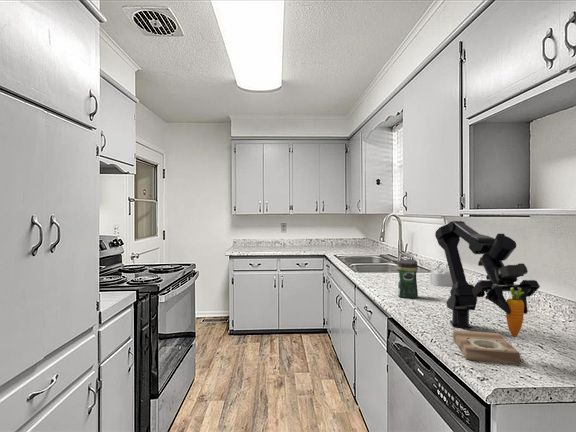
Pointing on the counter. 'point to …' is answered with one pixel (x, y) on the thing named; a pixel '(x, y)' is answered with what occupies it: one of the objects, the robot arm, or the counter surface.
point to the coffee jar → (407, 279)
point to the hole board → (485, 347)
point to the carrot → (515, 312)
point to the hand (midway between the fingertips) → (517, 313)
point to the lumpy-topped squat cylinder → (440, 278)
